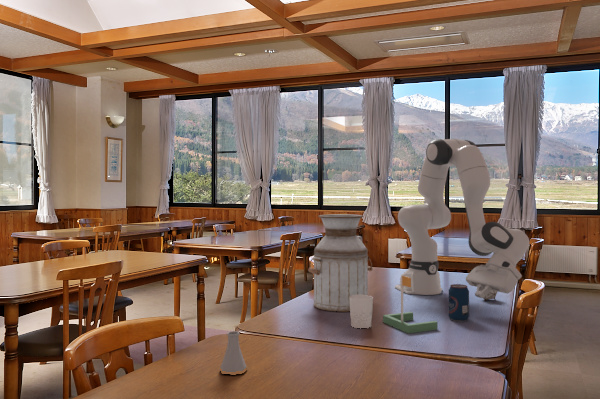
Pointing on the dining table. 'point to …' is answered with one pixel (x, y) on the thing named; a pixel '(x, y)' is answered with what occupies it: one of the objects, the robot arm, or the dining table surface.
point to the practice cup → (407, 316)
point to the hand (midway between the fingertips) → (478, 296)
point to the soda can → (458, 302)
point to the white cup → (361, 310)
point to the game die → (490, 295)
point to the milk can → (339, 264)
